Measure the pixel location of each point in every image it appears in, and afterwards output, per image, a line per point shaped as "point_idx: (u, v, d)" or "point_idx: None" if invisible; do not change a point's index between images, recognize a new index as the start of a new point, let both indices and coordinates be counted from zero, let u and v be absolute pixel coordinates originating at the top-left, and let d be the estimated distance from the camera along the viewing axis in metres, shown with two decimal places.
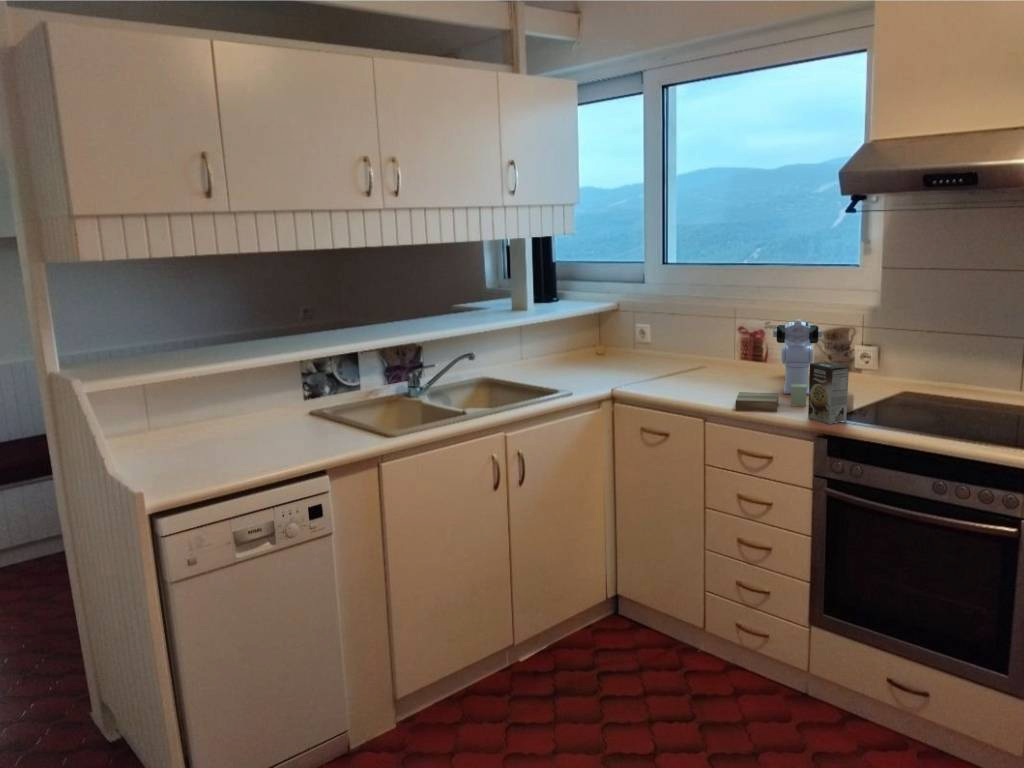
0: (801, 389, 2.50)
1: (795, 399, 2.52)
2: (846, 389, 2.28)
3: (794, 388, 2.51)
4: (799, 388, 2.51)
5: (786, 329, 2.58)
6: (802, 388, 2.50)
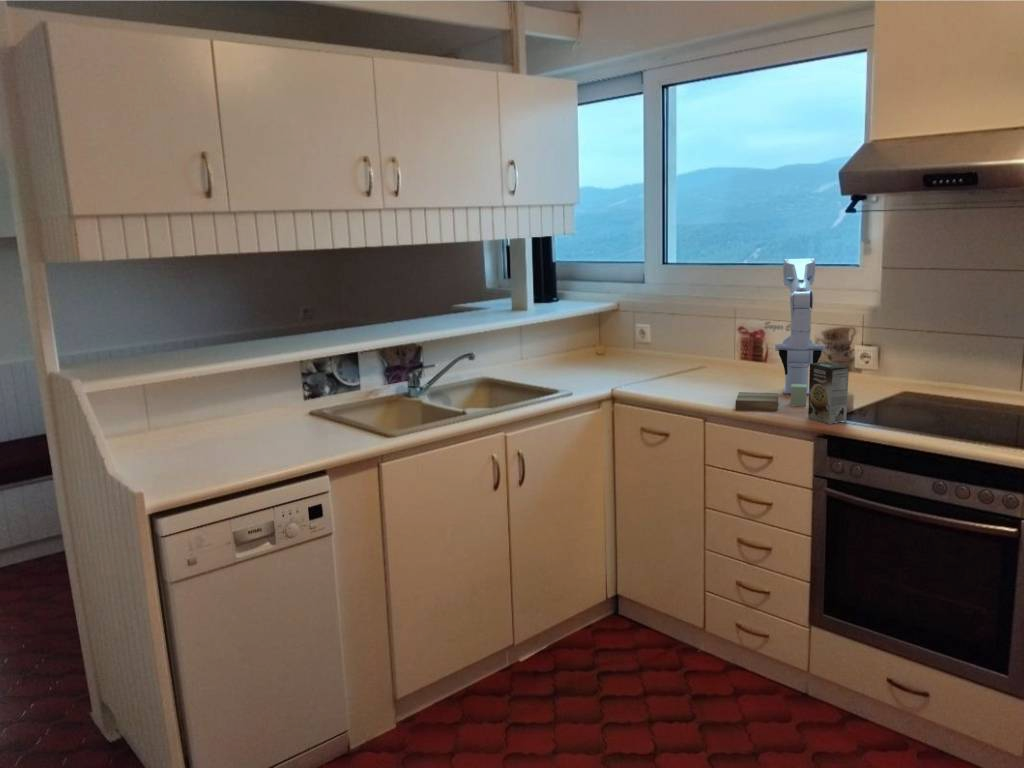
0: (801, 389, 2.50)
1: (795, 399, 2.52)
2: (846, 389, 2.28)
3: (794, 388, 2.51)
4: (799, 388, 2.51)
5: None
6: (802, 388, 2.50)
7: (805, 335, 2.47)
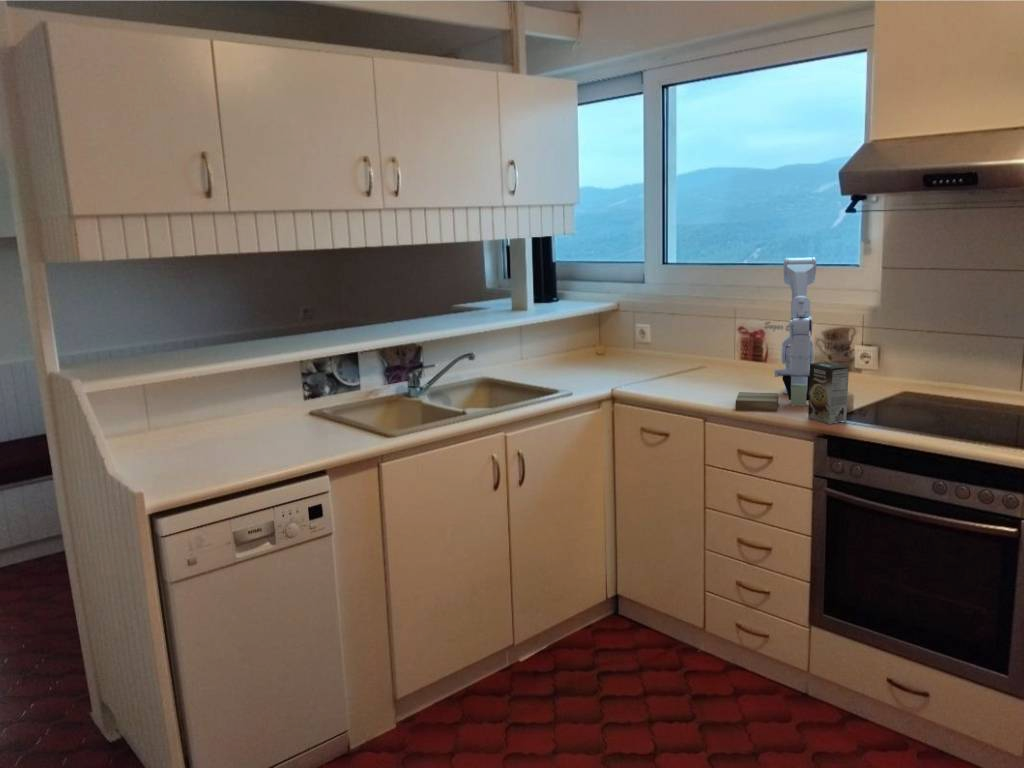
0: (801, 389, 2.50)
1: (795, 398, 2.52)
2: (846, 389, 2.28)
3: (794, 388, 2.51)
4: (799, 388, 2.51)
5: None
6: (802, 388, 2.50)
7: (804, 361, 2.48)
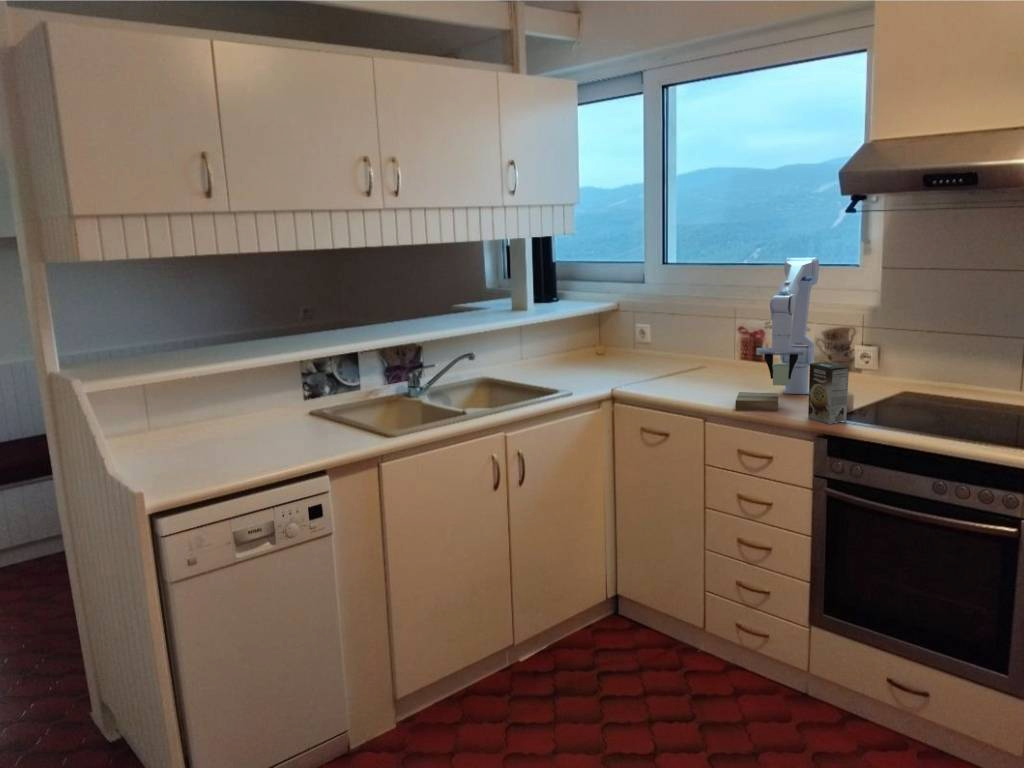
0: (783, 368, 2.49)
1: (777, 378, 2.50)
2: (846, 389, 2.28)
3: (776, 367, 2.49)
4: (781, 367, 2.49)
5: None
6: (784, 367, 2.48)
7: (786, 339, 2.47)
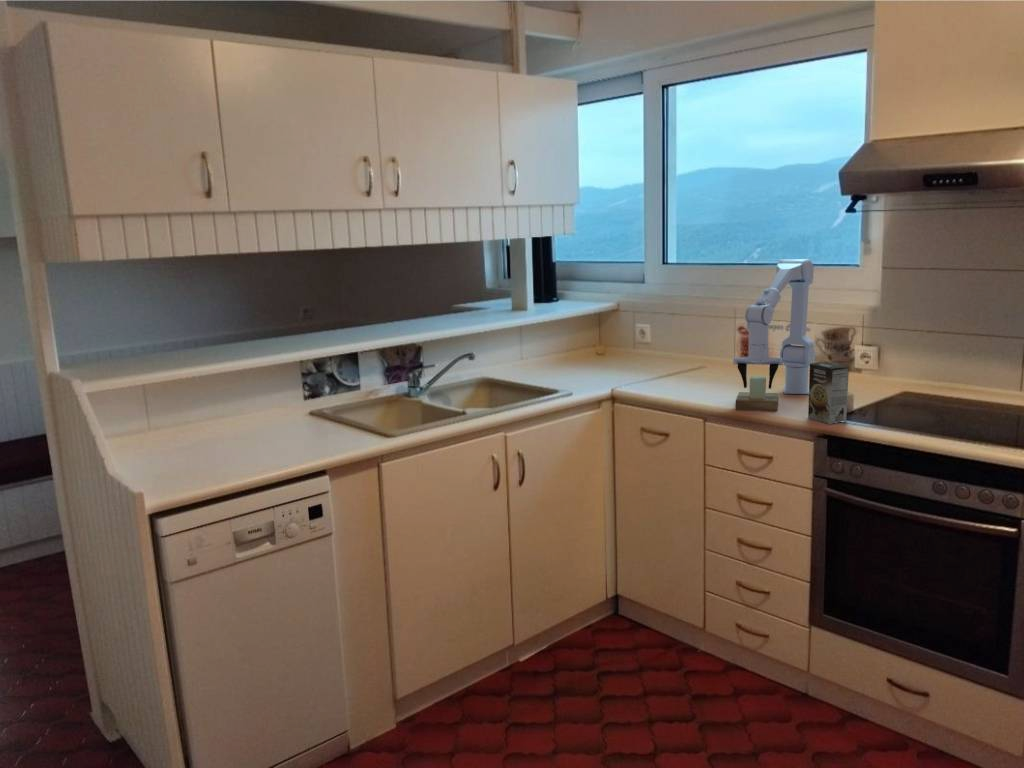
0: (760, 381, 2.49)
1: (753, 391, 2.50)
2: (846, 389, 2.28)
3: (753, 380, 2.50)
4: (758, 380, 2.49)
5: None
6: (761, 380, 2.49)
7: (762, 349, 2.47)
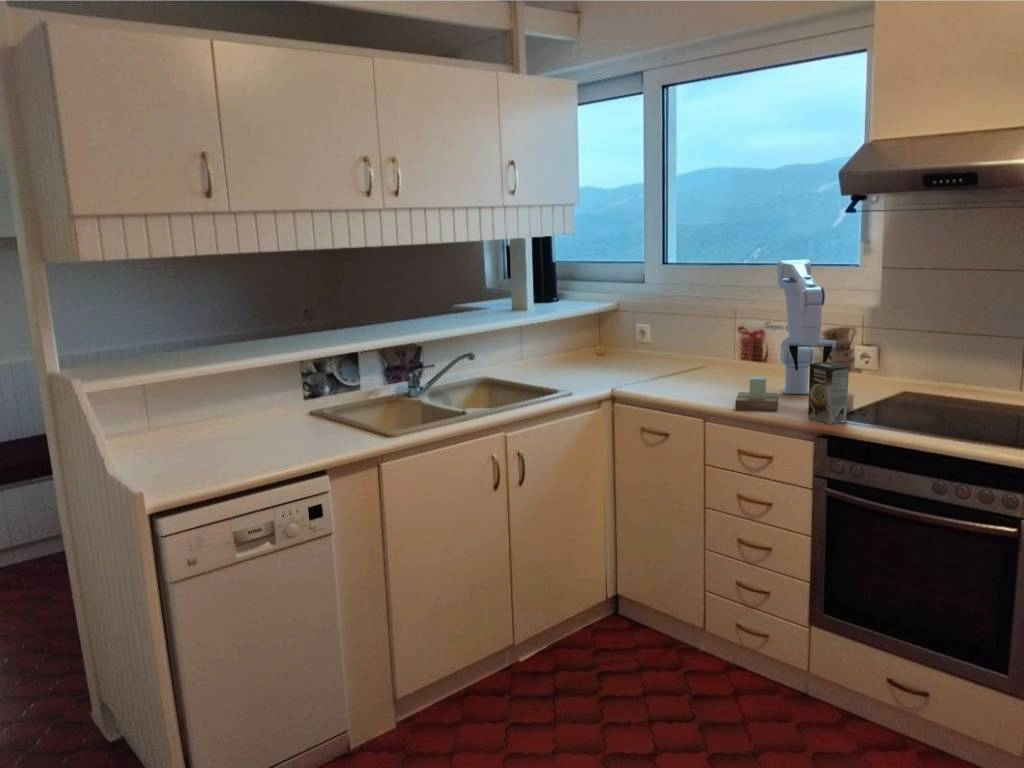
0: (760, 381, 2.49)
1: (753, 391, 2.50)
2: (846, 389, 2.28)
3: (753, 380, 2.50)
4: (758, 380, 2.49)
5: None
6: (761, 380, 2.49)
7: (816, 331, 2.47)
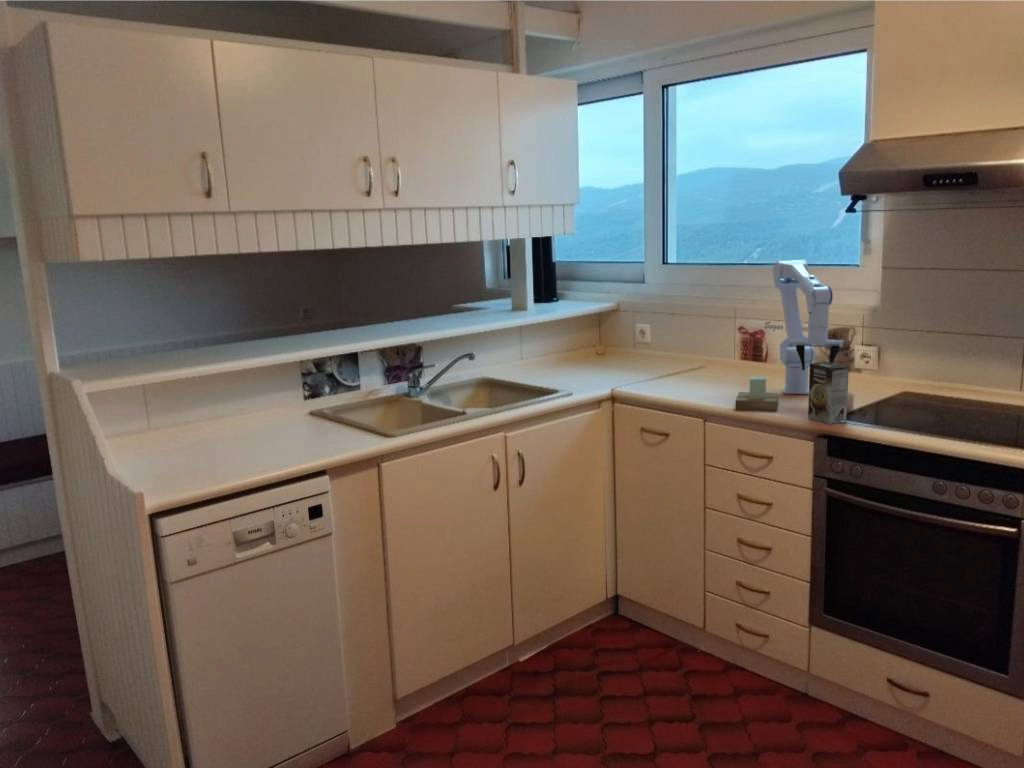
0: (760, 381, 2.49)
1: (753, 391, 2.50)
2: (846, 389, 2.28)
3: (753, 380, 2.50)
4: (758, 380, 2.49)
5: None
6: (761, 380, 2.49)
7: (823, 330, 2.48)
